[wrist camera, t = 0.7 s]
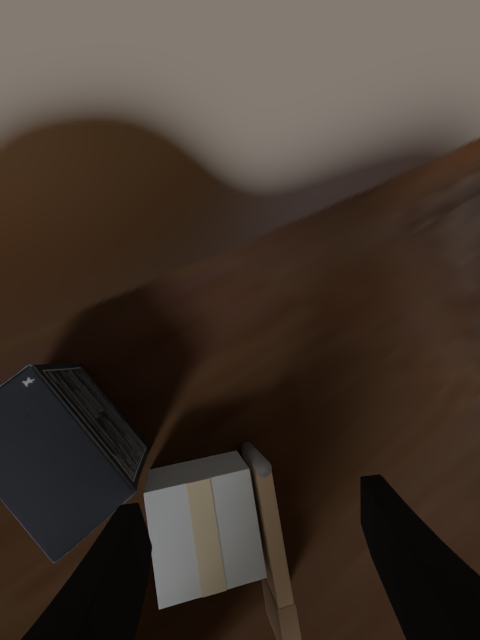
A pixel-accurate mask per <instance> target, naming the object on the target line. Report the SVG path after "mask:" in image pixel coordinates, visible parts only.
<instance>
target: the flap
mask: <svg viewBox="0 0 480 640" xmlns="http://www.w3.org/2000/svg"><path fill="white" fill-rule="evenodd" d="M241 452H242V456H243V460H244V462H245V463H246V465H247V466H248V468H249V470H250V476H251V482H252V488H253V494H254V500H255V507H256V513H257V519H258V525H259V531H260V538H261V544H262V550H263V556H264V562H265V569H266V575H267V578H264V579H261V582H262V588H263V595H264V601H265V607H266V612H267V615H268V618H269V620H270V623H271V626H272V629H273V631H274V634H275V637H276V640H301V634H300V628H299V622H298V617H297V611H296V605H295V602H294V600H293V596H292V590H291V584H290V578H289V572H288V566H287V560H286V554H285V548H284V542H283V536H282V530H281V524H280V518H279V512H278V506H277V500H276V494H275V488H274V482H273V476H272V466H271V464H270V463H269V462H268V460H267V459H266V458H265V457H264V456H263V455H262V454H261V453H260V452H259V451H258V450H257V449H256V448H255V447H254V446H253V445H252V444H251V443H250V442H244V443H243V444H242V445H241Z"/></svg>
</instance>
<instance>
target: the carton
mask: <svg viewBox="0 0 480 640" xmlns="http://www.w3.org/2000/svg"><path fill="white" fill-rule="evenodd" d="M144 501H145V508H146V516H147V523H148V531H149V538H150V541H151V544H152V561H153V569H154V577H155V584H156V592H157V599H158V607H159V610H160V609H163V608H166V607H170V606H173V605H176V604H180V603H183V602H187V601H190V600H193V599H197V598H200V597H202V598H203V597H207V596H210V595H213V594H217V593H220V592H224V591H227V589H231V588H234V587H237V586H241V585H244V584H248V583H251V582H254V581H258V580H261V579H264V578H267V575H266V569H265V562H264V556H263V550H262V544H261V538H260V531H259V525H258V519H257V513H256V507H255V500H254V494H253V488H252V482H251V476H250V470H249V468H248V466H247V465H246V463H245V462H244V460H243V459H242V458H241V456H240V455H239V453H238V452H237V451H232V452H227V453H223V454H218V455H214V456H209V457H205V458H200V459H195V460H191V461H186V462H182V463H177V464H173V465H168V466H163V467H159V468H154V469H150V471H149V474H148V478H147V482H146V486H145V490H144Z"/></svg>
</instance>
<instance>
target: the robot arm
mask: <svg viewBox="0 0 480 640" xmlns="http://www.w3.org/2000/svg"><path fill="white" fill-rule="evenodd" d="M361 525H362V528H363V532H364V535H365V538H366V541H367V545H368V548H369V551H370V554H371V557H372V560H373V562H374V564H375V567H376V569H377V572H378V574H379V576H380V579H381V581H382V583H383V586H384V588H385V590H386V593H387V595H388V598H389V600H390V602H391V605H392V607H393V609H394V612H395V614H396V616H397V619H398V621H399V623H400V626H401V628H402V630H403V633H404V635H405V637H406V640H480V576H479V575H478V574H477V573H476V572H475V571H474V570H473V569H472V568H470V567H469V566H468V565H467V564H466V563H465V562H464V561H463V560H462V559H461V558H460V557H459V556H458V555H457V554H455V553H454V552H453V551H452V550H451V549H450V548H449V547H448V546H447V545H446V544H445V543H444V542H443V541H442V540H441V539H440V538H439V537H438V536H437V535H436V534H435V533H434V532H433V531H432V530H431V529H430V528H429V527H428V526H427V525H426V524H425V523H424V522H423V521H422V520H421V519H420V518H419V517H418V516H417V515H416V514H415V512H414V511H413V510H412V509H411V508H410V507H409V506H408V505H407V504H406V503H405V502H404V500H403V499H402V498H401V497H400V496H399V495H398V494H397V493H396V492H395V490H394V489H393V488H392V487H391V486H390V485H389V483H388V482H387V481H386V480H385V479H384V478H383V477H382V476H381V475H371V476H363V477H361ZM151 554H152V544H151V541H150V538H149V534H148V531H147V528H146V525H145V522H144V519H143V515H142V512H141V509H140V506H139V503H132V504H124V505H120V506H119V507H118V508H117V510H116V511H115V513H114V514H113V516H112V517H111V519H110V520H109V522H108V523H107V525H106V526H105V528H104V529H103V531H102V532H101V534H100V535H99V537H98V538H97V540H96V541H95V542H94V544H93V545H92V547H91V548H90V550H89V551H88V553H87V554H86V555H85V557H84V558H83V560H82V561H81V563H80V564H79V565H78V567H77V568H76V570H75V571H74V572H73V574H72V575H71V577H70V578H69V579H68V581H67V582H66V583H65V585H64V586H63V587H62V589H61V590H60V591H59V593H58V594H57V595H56V596H55V598H54V599H53V600H52V602H51V603H50V604H49V606H48V607H47V608H46V610H45V611H44V612H43V613H42V615H41V616H40V617H39V618H38V620H37V621H36V622H35V623H34V625H33V626H32V627H31V628H30V629H29V631H28V632H27V633H26V634H25V635H24V637H23V638H22V639H21V640H135V635H136V631H137V627H138V623H139V619H140V614H141V610H142V606H143V601H144V597H145V593H146V588H147V584H148V577H149V570H150V562H151Z"/></svg>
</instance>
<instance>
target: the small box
mask: <svg viewBox="0 0 480 640" xmlns="http://www.w3.org/2000/svg"><path fill="white" fill-rule="evenodd" d="M149 451H150V449H149V448H148V447H147V445H146V444H145V443H144V442H143V440H142V439H141V438H140V437H139V435H138V434H137V433H136V432H135V430H134V429H133V428H132V427H131V425H130V424H129V423H128V421H127V420H126V419H125V418H124V417H123V416H122V414H121V413H120V412H119V411H118V409H117V408H116V407H115V406H114V404H113V403H112V402H111V401H110V399H109V398H108V397H107V395H106V394H105V393H104V392H103V391H102V390H101V388H100V387H99V386H98V384H97V383H96V382H95V381H94V380H93V379H92V377H91V376H90V375H89V374H88V373H87V372H86V370H85V369H84V368H83V367H82V365H81V364H80V363H77V362H73V363H70V364H45V365H34V364H28V365H27V366H25V367H24V368H23V369H22V370H20V371H19V372H17V373H16V374H15V375H14V376H12V377H11V378H9V379H8V380H7V381H5V382H4V383H3V384H1V385H0V500H1V501H2V502H3V503H4V504H5V506H6V507H7V508H8V509H9V511H10V512H11V513H12V514H13V515H14V517H15V518H16V519H17V520H18V521H19V523H20V524H21V525H22V526H23V527H24V529H25V530H26V531H27V532H28V533H29V535H30V536H31V537H32V538H33V540H34V541H35V542H36V543H37V544H38V546H39V547H40V548H41V549H42V550H43V552H44V553H45V554H46V556H47V557H48V558H49V559H50V560H51V561H52V562H53V563H55V562H57V561H59V560H60V559H61V558H62V557H63V556H65V555H66V554H67V553H68V552H70V551H71V550H72V549H73V548H74V547H75V546H76V545H78V544H79V543H80V542H81V541H82V540H83V539H85V538H86V537H87V536H88V535H89V534H90V533H92V532H93V531H94V530H95V529H96V528H97V527H98V526H99V525H100V524H102V523H103V522H104V521H105V520H106V519H107V518H108V517H110V516H111V515H112V514H113V513H114V512H115V511H116V510H117V508H118V507H119V506H120V505H123V504H124V503H125V502H126V501H128V500H129V499H130V498H131V497H132V496H133V495H134V494H135V493H136V491H137V485H138V481H139V478H140V475H141V473H142V469H143V467H144V464H145V461H146V458H147V455H148V454H149Z"/></svg>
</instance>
